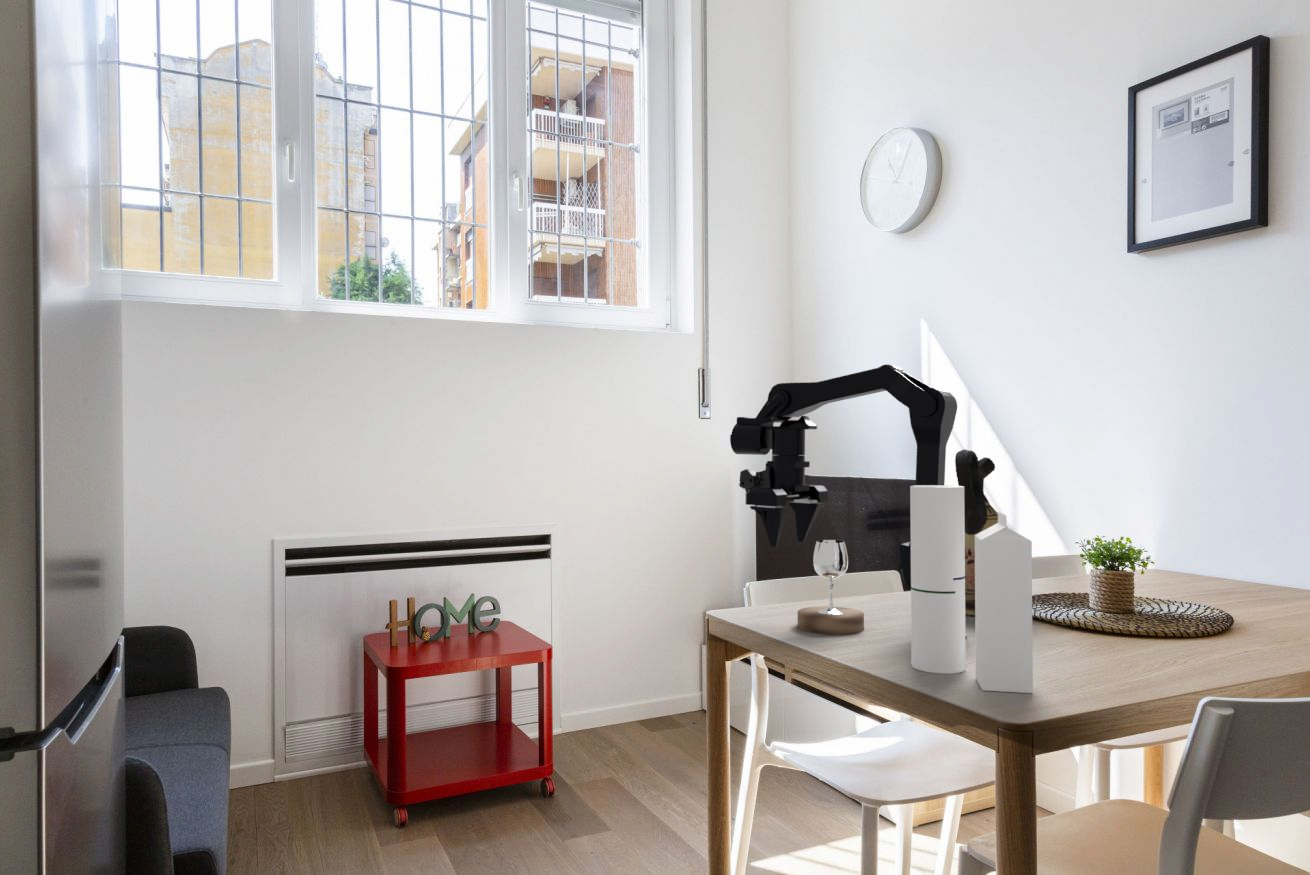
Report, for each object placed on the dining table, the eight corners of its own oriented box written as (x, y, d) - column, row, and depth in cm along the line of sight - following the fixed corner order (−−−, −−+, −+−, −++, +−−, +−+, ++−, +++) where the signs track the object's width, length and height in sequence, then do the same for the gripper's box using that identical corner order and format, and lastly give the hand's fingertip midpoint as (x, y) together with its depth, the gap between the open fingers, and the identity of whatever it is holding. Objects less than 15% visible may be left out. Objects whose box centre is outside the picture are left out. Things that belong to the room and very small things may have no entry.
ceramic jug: (954, 601, 168) (952, 449, 168) (1036, 611, 158) (1034, 449, 158) (917, 614, 155) (916, 449, 155) (1004, 626, 145) (1003, 449, 145)
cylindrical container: (977, 669, 117) (975, 486, 117) (940, 676, 113) (939, 488, 114) (936, 658, 123) (935, 484, 124) (900, 664, 120) (899, 486, 120)
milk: (1023, 681, 111) (1023, 511, 111) (1033, 694, 105) (1033, 515, 106) (974, 678, 113) (974, 510, 113) (980, 691, 107) (980, 514, 107)
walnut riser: (875, 626, 145) (875, 611, 145) (845, 637, 137) (845, 621, 137) (817, 618, 152) (817, 604, 152) (785, 628, 144) (785, 613, 144)
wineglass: (851, 615, 142) (851, 543, 142) (816, 615, 142) (816, 543, 142) (844, 609, 147) (843, 539, 147) (811, 609, 147) (810, 539, 148)
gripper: (776, 454, 162) (776, 536, 162) (720, 455, 148) (719, 545, 148) (829, 455, 155) (828, 541, 155) (775, 456, 141) (774, 551, 141)
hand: (787, 544), depth 150 cm, fingers open, 9 cm apart
